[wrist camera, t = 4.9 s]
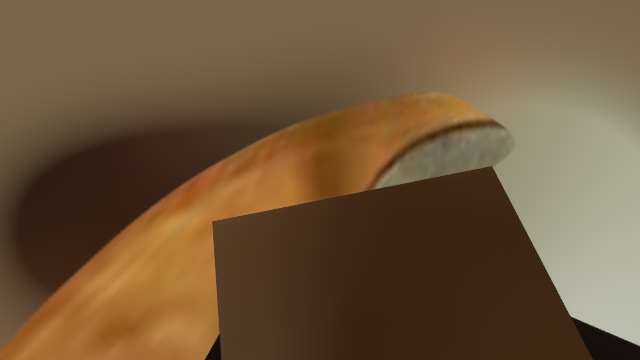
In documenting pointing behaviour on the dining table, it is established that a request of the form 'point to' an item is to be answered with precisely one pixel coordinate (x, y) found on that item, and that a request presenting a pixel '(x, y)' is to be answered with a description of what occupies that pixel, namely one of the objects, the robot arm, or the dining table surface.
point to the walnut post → (390, 279)
